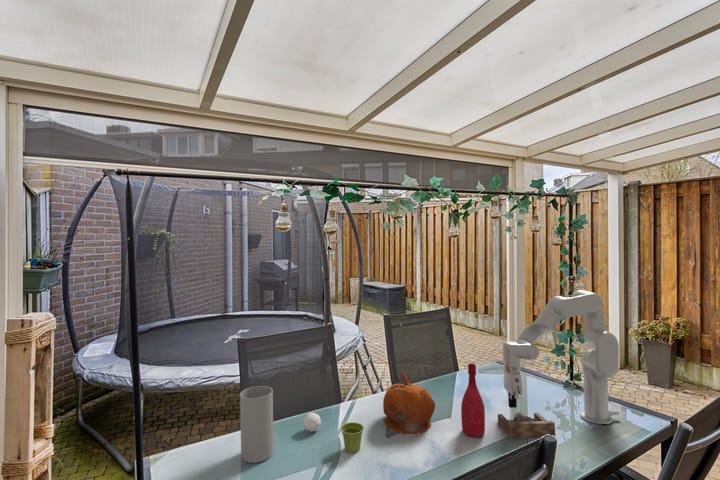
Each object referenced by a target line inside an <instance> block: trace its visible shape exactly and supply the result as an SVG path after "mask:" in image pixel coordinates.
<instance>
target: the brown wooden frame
mask: <svg viewBox="0 0 720 480" xmlns="http://www.w3.org/2000/svg"><path fill="white" fill-rule="evenodd" d="M533 419H535V420H537V421H527V422H513V421H509V420H508V419H507V418H506V417H505V416H504V415H503V413H497V424H498V425H499V426H500V427H501V429H502V430H503V431H504V433H506V435H507V436H508V437H509V438H510V439H513V440H514V439H542V438H541V437H542V436H544V435H546V434H550V435H554V436H555V437H556V422H555V421H553V420H547V418H545V417H544V416H543V415H542V414H541V413H539V412H534V413H533Z"/></svg>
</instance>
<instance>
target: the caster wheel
mask: <svg viewBox="0 0 720 480" xmlns="http://www.w3.org/2000/svg"><path fill="white" fill-rule="evenodd" d="M527 421H537V420H535V419H534V418H532V417H530V416H527V415H525V414H524V413H523V412H520V411H519V412H516V413H515V415H514V417H513V421H512V422H527Z"/></svg>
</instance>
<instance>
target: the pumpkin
mask: <svg viewBox="0 0 720 480" xmlns="http://www.w3.org/2000/svg"><path fill="white" fill-rule="evenodd" d="M402 378H403V381H404V382H403V383H402V382H401V383H396V382H395V383H394V384H391V385H390V386H389V388H388V389H387V390H386V392H385V393H384V396H383V401H382V402H383V403H382V405H383V407H382V408H383V414H384V415H385V418H384V420H383V421H384V422H383V423H385V424H384V426H385V428H387V429H388V430H389V429H390V430H389V431H391V430H392V431H391V432H393V431H394V432H393V433H396V432H397V433H396V434H399V433H402V434H401V435H405V434H414V435H419V434H418V433H420V434H423V433H425V431H426V432H427V431H429V430H430V429H431V427H432V422H431V421H432V420H431V419H432V416H433V415H434V412H435V408H436V403H435V400H434V399H433V398H432V396H431V393H430V391H429V390H428V389H426V388H422V387H421V386H419V385H417V384H412V383H411V380H410V378H409V376H408V375H407V373H406V371H402ZM428 429H429V430H428ZM422 432H423V433H422Z"/></svg>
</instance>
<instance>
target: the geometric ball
mask: <svg viewBox="0 0 720 480" xmlns="http://www.w3.org/2000/svg"><path fill="white" fill-rule="evenodd" d="M321 424H322V419H321V417H320V415H318V414H317V413H315V412H310V413H308V414H306V416H305V417H304V419H303V427H304V429H305V430H306V431H307V432H309V431H310V432H309V433H314V432H313V431H315V432H317V431H318V430H319V429H320V427H321ZM316 430H317V431H316Z"/></svg>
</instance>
